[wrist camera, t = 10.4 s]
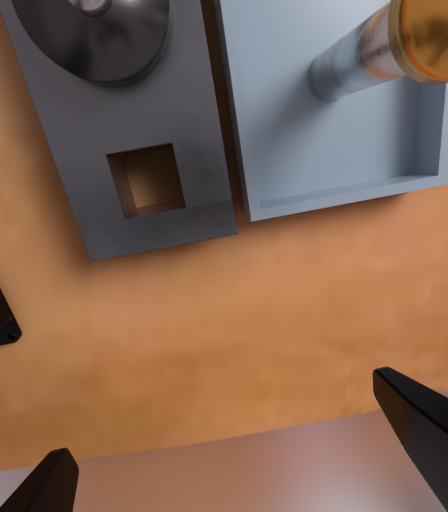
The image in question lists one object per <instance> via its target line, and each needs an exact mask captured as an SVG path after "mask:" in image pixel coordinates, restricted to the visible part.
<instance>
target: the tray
mask: <svg viewBox="0 0 448 512" xmlns="http://www.w3.org/2000/svg"><path fill="white" fill-rule="evenodd" d="M390 1H391V0H213V3H214V9H215V16H216V23H217V30H218V36H219V43H220V50H221V57H222V63H223V70H224V77H225V84H226V90H227V97H228V104H229V111H230V117H231V124H232V131H233V138H234V144H235V151H236V158H237V165H238V171H239V178H240V185H241V192H242V198H243V205H244V212H245V214H246V215H247V216H248V218H249V219H250V220H251V222H252V221H258V220H263V219H268V218H274V217H279V216H284V215H289V214H295V213H300V212H305V211H310V210H316V209H321V208H326V207H332V206H337V205H342V204H347V203H353V202H358V201H363V200H369V199H374V198H379V197H384V196H390V195H395V194H400V193H405V192H411V191H416V190H421V189H427V188H432V187H437V186H442V185H448V83H445V84H438V85H428V84H424V83H420V82H418V81H415V80H413V79H412V78H410V77H409V76H408V75H405V76H402V77H399V78H396V79H393V80H390V81H387V82H384V83H381V84H379V85H376V86H373V87H370V88H367V89H364V90H361V91H358V92H355V93H352V94H349V95H346V96H343V97H341V98H338V99H335V100H331V101H324V100H320V99H318V98H317V97H316V96H315V95H314V94H313V93H312V91H311V89H310V87H309V83H308V73H309V69H310V66H311V64H312V62H313V61H314V59H315V58H316V57H317V56H318V55H319V54H321V53H322V52H323V51H325V50H326V49H327V48H329V47H330V46H331V45H333V44H334V43H335V42H337V41H338V40H339V39H341V38H342V37H343V36H344V35H346V34H347V33H348V32H350V31H351V30H352V29H354V28H355V27H356V26H358V25H359V24H360V23H362V22H363V21H364V20H366V19H367V18H368V17H370V16H371V15H372V14H374V13H375V12H376V11H378V10H379V9H380V8H382V7H383V6H384V5H386V4H387V3H388V2H390Z"/></svg>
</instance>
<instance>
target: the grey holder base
mask: <svg viewBox="0 0 448 512" xmlns="http://www.w3.org/2000/svg"><path fill="white" fill-rule="evenodd" d="M0 12H1V14H2V17H3V20H4V23H5V26H6V28H7V31H8V34H9V37H10V39H11V42H12V45H13V48H14V50H15V53H16V56H17V59H18V62H19V64H20V67H21V70H22V73H23V75H24V78H25V81H26V84H27V87H28V89H29V92H30V95H31V98H32V100H33V103H34V106H35V109H36V111H37V114H38V117H39V120H40V123H41V125H42V128H43V131H44V134H45V136H46V139H47V142H48V145H49V148H50V150H51V153H52V156H53V159H54V161H55V164H56V167H57V170H58V173H59V175H60V178H61V181H62V184H63V186H64V189H65V192H66V195H67V197H68V200H69V203H70V206H71V209H72V211H73V214H74V217H75V220H76V222H77V225H78V228H79V231H80V234H81V236H82V239H83V242H84V245H85V247H86V250H87V253H88V256H89V259H90V261H91V262H94V261H99V260H104V259H109V258H115V257H120V256H125V255H130V254H136V253H141V252H146V251H151V250H157V249H162V248H167V247H172V246H178V245H183V244H188V243H194V242H199V241H204V240H209V239H215V238H220V237H225V236H230V235H236V234H238V233H237V226H236V220H235V214H234V208H233V202H232V195H231V189H230V183H229V177H228V171H227V164H226V158H225V152H224V146H223V139H222V133H221V127H220V121H219V115H218V108H217V102H216V96H215V90H214V84H213V77H212V71H211V65H210V59H209V52H208V46H207V40H206V34H205V28H204V21H203V15H202V9H201V3H200V0H0ZM169 144H173V149H174V153H175V158H176V163H177V167H178V172H179V176H180V181H181V185H182V190H183V195H184V199H183V200H177V201H172V202H167V203H161V204H156V205H151V206H145V207H140V208H136V205H135V202H134V198H133V195H132V191H131V188H130V184H129V180H128V177H127V173H126V170H125V166H124V163H123V159H122V156H121V153H125V152H131V151H136V150H142V149H147V148H153V147H158V146H164V145H169Z"/></svg>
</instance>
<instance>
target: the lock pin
mask: <svg viewBox="0 0 448 512" xmlns="http://www.w3.org/2000/svg"><path fill="white" fill-rule="evenodd" d="M405 75H408V76H409V77H410V78H412V79H413V80H415V81H418V82H420V83H424V84H428V85H438V84H445V83H448V0H391V1H390V2H388V3H387V4H386V5H384V6H383V7H382V8H380V9H379V10H378V11H376V12H375V13H374V14H372V15H371V16H370V17H368V18H367V19H366V20H364V21H363V22H362V23H360V24H359V25H358V26H356V27H355V28H354V29H352V30H351V31H350V32H348V33H347V34H346V35H344V36H343V37H342V38H341V39H339V40H338V41H337V42H335V43H334V44H333V45H331V46H330V47H329V48H327V49H326V50H325V51H323V52H322V53H321V54H319V55H318V56H317V57H316V58H315V59H314V61H313V62H312V64H311V66H310V69H309V73H308V83H309V87H310V89H311V91H312V93H313V94H314V95H315V96H316V97H317V98H318V99H320V100H324V101H331V100H335V99H338V98H341V97H343V96H346V95H349V94H352V93H355V92H358V91H361V90H364V89H367V88H370V87H373V86H376V85H379V84H381V83H384V82H387V81H390V80H393V79H396V78H399V77H402V76H405Z"/></svg>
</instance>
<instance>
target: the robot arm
mask: <svg viewBox="0 0 448 512" xmlns="http://www.w3.org/2000/svg"><path fill="white" fill-rule="evenodd" d="M10 333H12V334H13V335H14V336H12V335H11V334H10ZM21 336H22V332H21V330H20V328H19V326H18V324H17V322H16V319H15V317H14V315H13V313H12V311H11V309H10V307H9V305H8V303H7V301H6V299H5V297H4V295H3V293H2V291H1V289H0V345H4V344H9V343H14V342H16V341H17V340H18V339H19V338H20V337H21ZM373 391H374V395H375V398H376V400H377V401H378V403H379V405H380V407H381V408H382V410H383V412H384V414H385V416H386V417H387V419H388V421H389V423H390V424H391V426H392V428H393V430H394V431H395V433H396V435H397V437H398V438H399V440H400V442H401V444H402V445H403V447H404V449H405V451H406V452H407V454H408V455H409V457H410V458H411V460H412V461H413V463H414V464H415V466H416V467H417V469H418V470H419V472H420V473H421V474H422V476H423V477H424V479H425V480H426V482H427V483H428V485H429V486H430V488H431V489H432V490H433V492H434V493H435V495H436V496H437V498H438V499H439V501H440V502H441V503H442V505H443V506H444V508H445V509H446V511H447V512H448V398H447V397H446V396H443V395H442V394H440V393H438V392H436V391H434V390H432V389H430V388H428V387H426V386H424V385H423V384H421V383H419V382H417V381H415V380H413V379H411V378H409V377H407V376H405V375H403V374H401V373H400V372H398V371H396V370H394V369H392V368H390V367H382V368H378V369H375V370H374V371H373ZM78 476H79V468H78V465H77V463H76V461H75V460H74V458H73V456H72V455H71V453H70V451H69V450H68V449H67V448H60V449H56V450H53V451H51V452H50V453H48V454H47V456H46V457H45V458H44V459H43V460H42V461H41V462H40V463H39V464H38V466H37V467H36V468H35V469H34V470H33V471H32V472H31V473H30V475H29V476H28V477H27V478H26V479H25V480H24V481H23V482H22V483H21V485H20V486H19V487H18V488H17V489H16V490H15V491H14V492H13V494H12V495H11V496H10V497H9V498H8V499H7V500H6V501H5V503H4V504H3V505H2V506H1V507H0V512H73V506H74V499H75V494H76V488H77V482H78Z"/></svg>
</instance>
